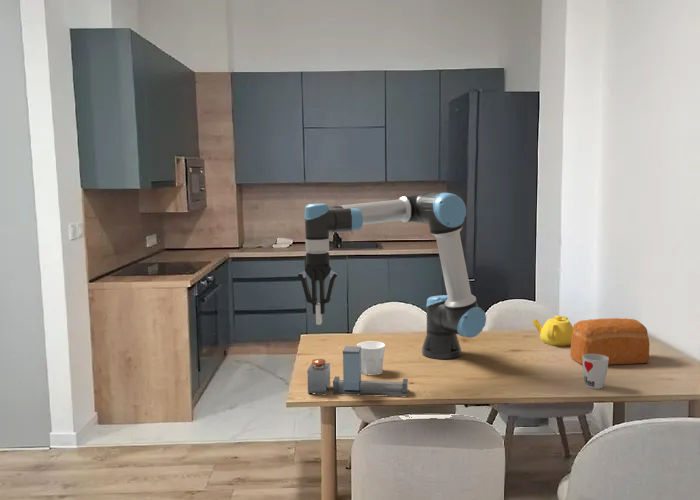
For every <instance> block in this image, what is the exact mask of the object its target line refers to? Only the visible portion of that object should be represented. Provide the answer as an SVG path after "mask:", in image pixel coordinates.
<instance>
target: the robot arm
mask: <svg viewBox="0 0 700 500" xmlns="http://www.w3.org/2000/svg"><path fill="white" fill-rule="evenodd" d="M465 217H467V207H466V203H465V202H464V200H463V199H462V198H461V197H460V196H458V195H457V194H456V193H455V194H454V193H451V192H445V191H444V192H432V191H427V192H421V193H416V194H410V195H404V196H400V197H399V198H398V199H392V200H382V201H372V202H371V201H370V202H363V203H353V204H352V203H351V204H343V205H333V206H329V205H328V204H327V203H308V204H306V205H305V207H304V224H305V225H304V228H305V229H304V231H305V251H306V253H305V268H304V270H303V271H302V272H300V273H298V275H297V276H298V278H299V280H300V281H301V284H302V288H303V292H304V296H305V301H306V303H310V304H311V306H312V314H313V315H315V325H318V326H321V325H322V323H323V315H324V314H325V312H326V304H329V302H331V299H332V294H333V289H334V285H335V281H336V279H337V277H338V276H339V273H338V272H334V271H333V270H332V268H331V266H330V252H328V251H330V234H331V233H344V232H351V233H352V232H356V231H360V230H361V228H362V227H363V225H369V224H370V225H371V224H379V223H387V222H397V221H401V222H402V223H417V224H418V223H420V224H425V225H428V226H429V232H430V234H431V235H433V236H434V237H435V240H436V243H437V244H436V245H437V250H438V255H439V260H440V264H441V265H440V266H441V271H442V277H443V281H444V286H445V291H446V295H445V294H443V295H434V296H433V295H432V296H429V297H428V298H427V299H426V306H425V307H426V336H425V337H424V341H423V344H422V350H421V354H422V355H423V356H424V357H426V358H431V359H435V360H436V359H437V360H450V359H456V358H459V357H460V356H461V355H462V347H461V344H460V342H459V341H460V340H459V338H458V336H460V337H463V338H464V337H465V338H474V337H477V336H479V335H480V333H482V332H483V330H484V328H485V327H486V324H487V316H486V315H487V314H486V312H485V311H484V310H483V308H481V307H479V306H478V301H477V297H476V296H475V295H473V294H472V292H471V291H472V290H471V286H470V280H469V276H468V270H467V266H466V260H465V254H464V250H463V245H462V240H461V239H462V238H461V233H460V232H461V231H462V229H463V228H464V227H463V223H464V222H465ZM328 275H329V278H330V280H329V284H328V288H327V293H326V291H325V289H326V287H325V285H326V284H325V283H326V279H327V277H328ZM307 277H308V278H309V279H310V281H311V283H310V284H311V291H310V287H309V282H308V280H307ZM318 283H319V302H318Z"/></svg>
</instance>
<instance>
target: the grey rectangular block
mask: <svg viewBox="0 0 700 500" xmlns="http://www.w3.org/2000/svg"><path fill="white" fill-rule="evenodd" d="M342 370H343V371H342V373H343V374H342V375H343V376H342V377H343V378H342V380H343V383H344V390H359V382H360V381H362V373H361V346H357V345H356V346H354V345H352V346H350V345H345V346H344V348H343V350H342Z"/></svg>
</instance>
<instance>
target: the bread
mask: <svg viewBox="0 0 700 500" xmlns="http://www.w3.org/2000/svg"><path fill="white" fill-rule="evenodd" d="M584 354H600V355H604V356H607V357H608V358H609V360H608V366H610V365H631V364H633V365H634V364H636V365H637V364H646V363H649V362H650V361H649V359H650V339H649V333H648V329H647V327H645V325H644V324H643V323H641V322H640V321H639V320H638V319H634V318H627V317H625V318H618V317H617V318H614V317H613V318H594V319H592V318H591V319H586V320H580V321H577V322H575V323H574V324H573V332H572V336H571V345H570V357H571V359H572V360H574V361H575V362H577V363H579V364H580V365H583V363H582V356H583V355H584Z"/></svg>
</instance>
